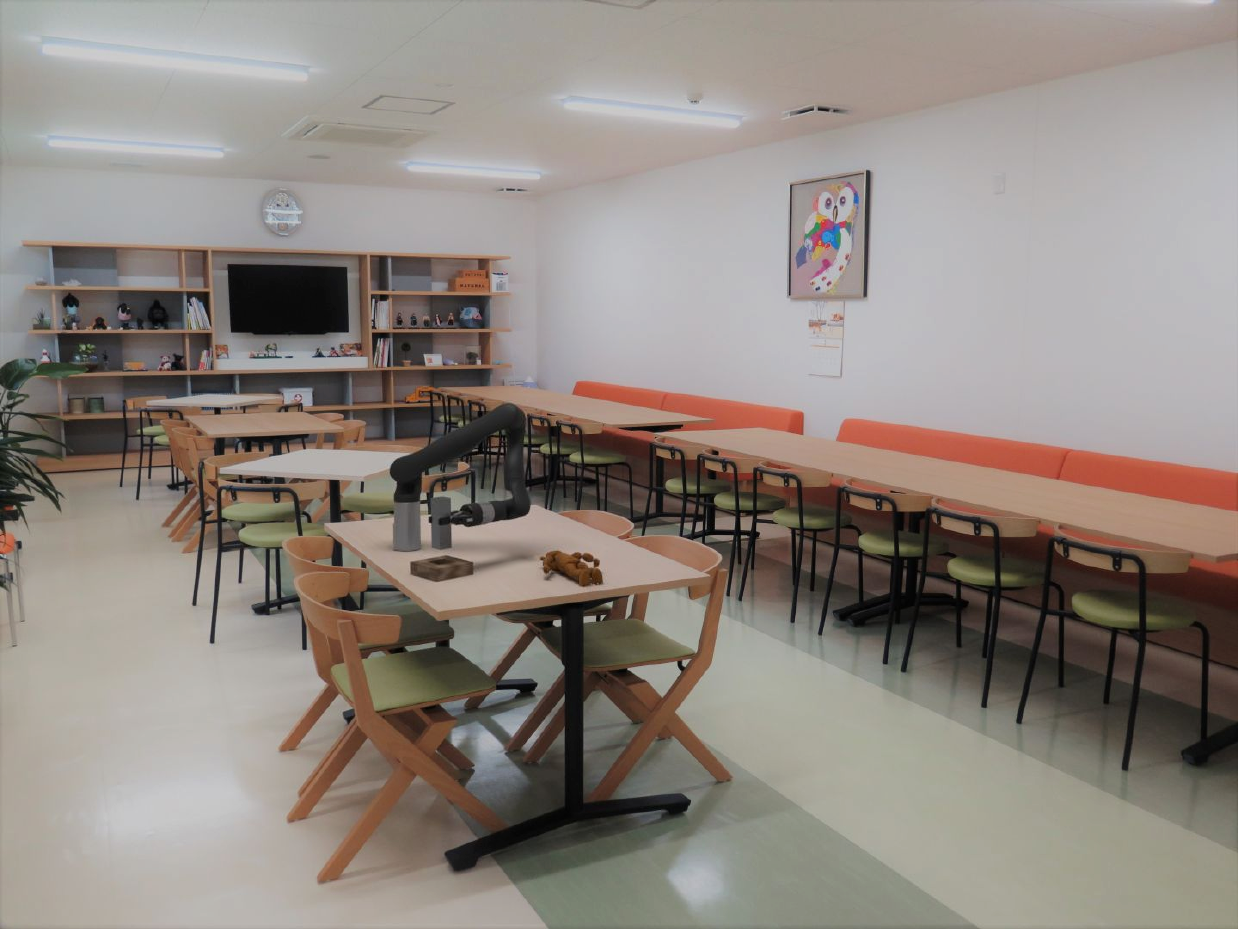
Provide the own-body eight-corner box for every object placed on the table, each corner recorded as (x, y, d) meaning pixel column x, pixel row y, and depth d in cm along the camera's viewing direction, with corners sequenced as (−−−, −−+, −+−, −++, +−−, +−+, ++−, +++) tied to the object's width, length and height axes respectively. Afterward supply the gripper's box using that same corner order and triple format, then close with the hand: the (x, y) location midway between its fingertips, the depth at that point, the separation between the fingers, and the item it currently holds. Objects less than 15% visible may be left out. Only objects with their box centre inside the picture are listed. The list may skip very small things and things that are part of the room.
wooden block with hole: (436, 581, 302) (436, 569, 302) (410, 574, 312) (410, 561, 311) (472, 574, 312) (472, 562, 312) (446, 567, 322) (446, 555, 321)
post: (440, 550, 308) (439, 499, 306) (431, 547, 311) (430, 498, 309) (451, 547, 311) (450, 498, 309) (443, 545, 314) (442, 496, 312)
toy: (619, 585, 305) (574, 562, 330) (620, 564, 304) (575, 542, 329) (562, 593, 295) (520, 569, 320) (563, 571, 294) (521, 548, 319)
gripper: (463, 500, 325) (420, 506, 312) (490, 505, 315) (447, 512, 302) (463, 522, 326) (420, 529, 313) (491, 528, 316) (447, 536, 303)
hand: (434, 521), depth 308 cm, fingers closed on post, 4 cm apart
